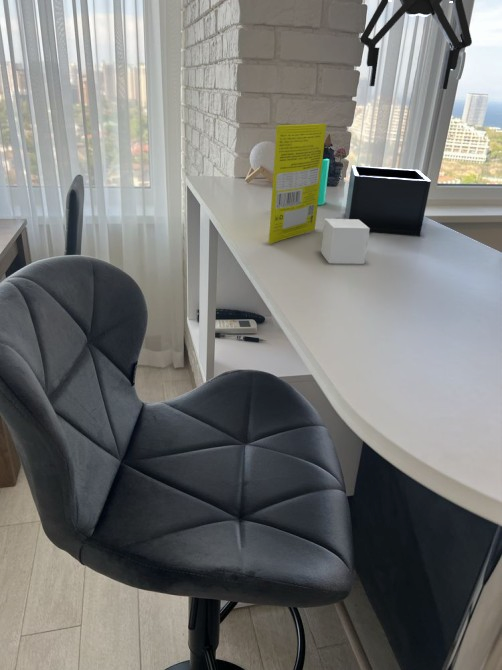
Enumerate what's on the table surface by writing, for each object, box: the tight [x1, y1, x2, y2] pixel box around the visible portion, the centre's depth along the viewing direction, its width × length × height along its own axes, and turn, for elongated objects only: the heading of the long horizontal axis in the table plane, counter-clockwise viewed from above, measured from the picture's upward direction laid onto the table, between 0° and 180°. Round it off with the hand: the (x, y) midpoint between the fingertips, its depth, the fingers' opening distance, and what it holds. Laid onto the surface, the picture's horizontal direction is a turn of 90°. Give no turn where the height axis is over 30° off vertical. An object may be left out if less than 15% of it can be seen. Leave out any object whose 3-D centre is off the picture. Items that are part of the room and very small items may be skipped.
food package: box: [268, 123, 327, 245], centre depth 92 cm, size 15×1×20 cm, turn 141°
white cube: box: [320, 218, 370, 265], centre depth 85 cm, size 6×6×6 cm
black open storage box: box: [344, 165, 432, 237], centre depth 107 cm, size 15×15×11 cm
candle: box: [318, 158, 330, 206], centre depth 124 cm, size 6×6×12 cm
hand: (407, 88), depth 98 cm, fingers open, 13 cm apart
